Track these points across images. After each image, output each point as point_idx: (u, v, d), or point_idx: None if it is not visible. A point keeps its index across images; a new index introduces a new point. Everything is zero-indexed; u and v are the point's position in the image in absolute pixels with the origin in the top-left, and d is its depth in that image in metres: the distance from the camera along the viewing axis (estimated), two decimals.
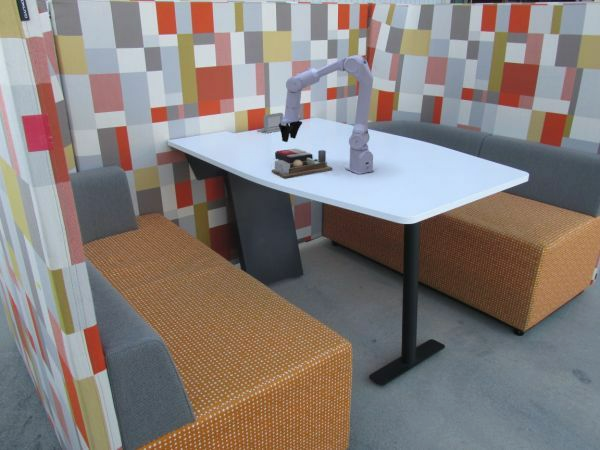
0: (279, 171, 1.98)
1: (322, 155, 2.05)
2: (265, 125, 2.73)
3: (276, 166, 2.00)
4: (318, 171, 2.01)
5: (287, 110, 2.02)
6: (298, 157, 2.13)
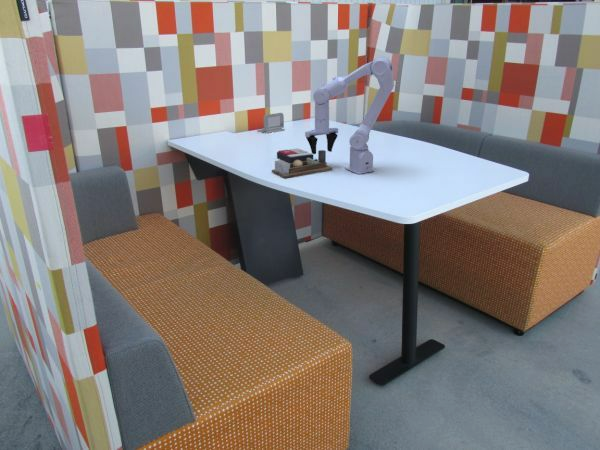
0: (279, 171, 1.98)
1: (322, 155, 2.05)
2: (265, 125, 2.73)
3: (276, 166, 2.00)
4: (318, 171, 2.01)
5: (315, 121, 2.01)
6: (298, 157, 2.13)
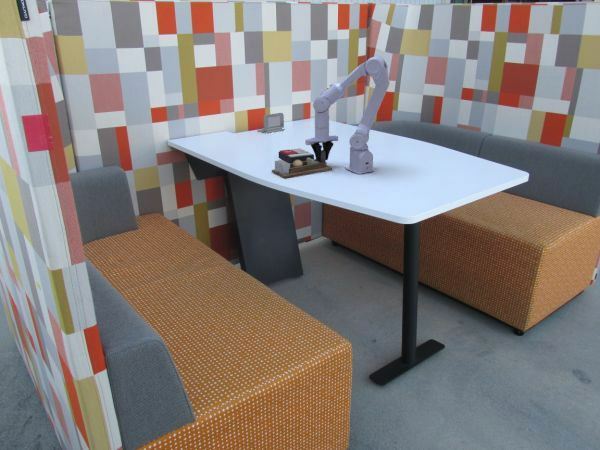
0: (279, 171, 1.98)
1: (322, 155, 2.05)
2: (265, 125, 2.73)
3: (276, 166, 2.00)
4: (318, 171, 2.01)
5: (315, 130, 2.02)
6: (299, 157, 2.13)
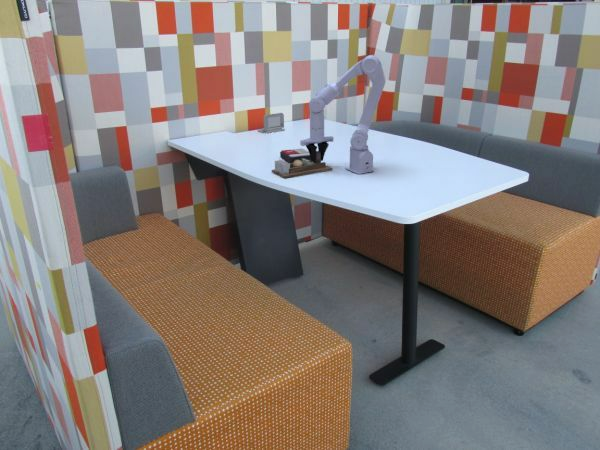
0: (279, 171, 1.98)
1: (318, 156, 2.04)
2: (265, 125, 2.73)
3: (276, 166, 2.00)
4: (318, 171, 2.01)
5: (310, 130, 2.01)
6: (299, 157, 2.13)
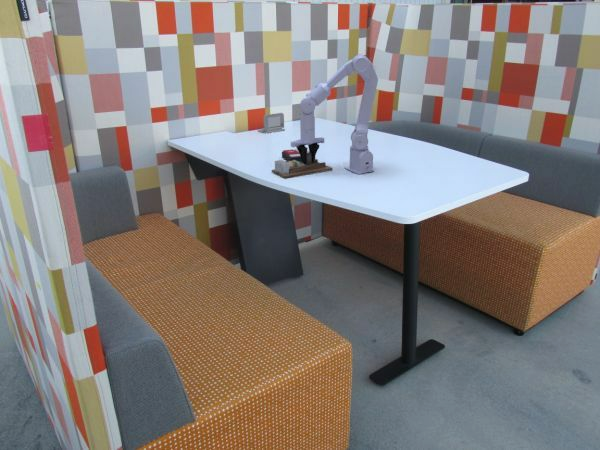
0: (279, 171, 1.98)
1: (308, 157, 2.02)
2: (265, 125, 2.73)
3: (276, 166, 2.00)
4: (318, 171, 2.01)
5: (300, 131, 1.99)
6: (299, 157, 2.13)
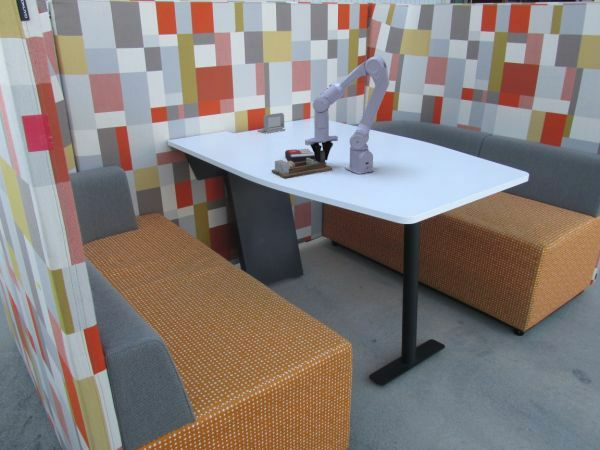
0: (279, 171, 1.98)
1: (322, 155, 2.05)
2: (265, 125, 2.73)
3: (276, 166, 2.00)
4: (318, 171, 2.01)
5: (314, 130, 2.02)
6: (300, 157, 2.13)
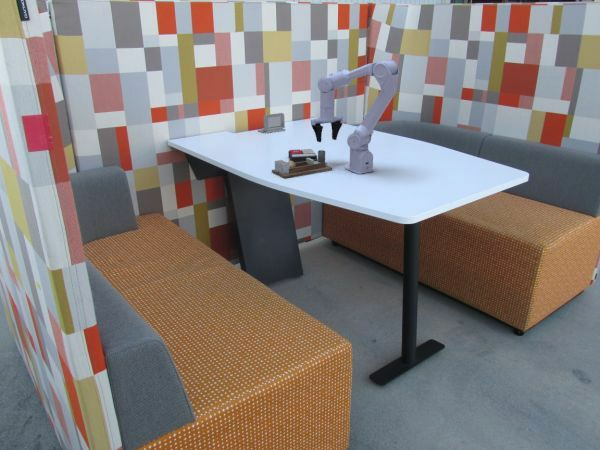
0: (279, 171, 1.98)
1: (322, 155, 2.05)
2: (265, 125, 2.73)
3: (276, 166, 2.00)
4: (318, 171, 2.01)
5: (320, 110, 2.03)
6: (300, 157, 2.12)
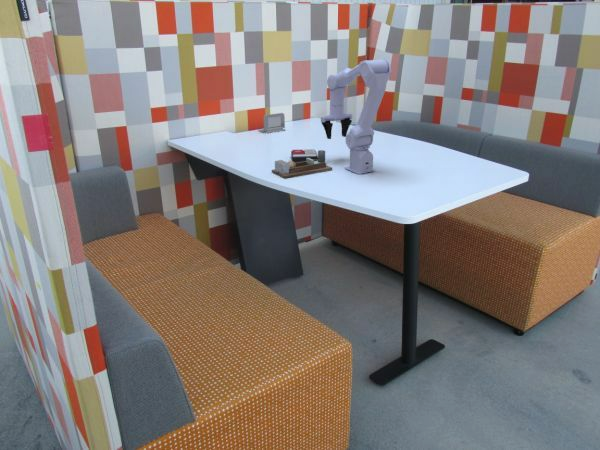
0: (279, 171, 1.98)
1: (322, 155, 2.05)
2: (265, 125, 2.73)
3: (276, 166, 2.00)
4: (318, 171, 2.01)
5: (330, 107, 2.08)
6: (301, 158, 2.12)
